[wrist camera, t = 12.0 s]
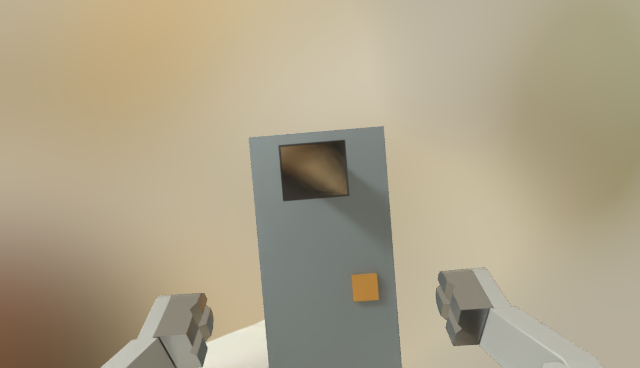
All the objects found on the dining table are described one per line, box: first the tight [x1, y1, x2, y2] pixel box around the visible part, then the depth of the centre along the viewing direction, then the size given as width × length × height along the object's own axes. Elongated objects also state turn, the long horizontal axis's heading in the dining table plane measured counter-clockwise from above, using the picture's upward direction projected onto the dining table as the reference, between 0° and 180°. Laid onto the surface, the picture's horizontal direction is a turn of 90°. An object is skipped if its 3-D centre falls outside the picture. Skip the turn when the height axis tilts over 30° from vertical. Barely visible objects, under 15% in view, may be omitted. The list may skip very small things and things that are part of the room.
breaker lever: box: [278, 140, 350, 201], centre depth 24 cm, size 3×16×3 cm, turn 179°
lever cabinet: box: [249, 126, 402, 368], centre depth 37 cm, size 13×11×31 cm
